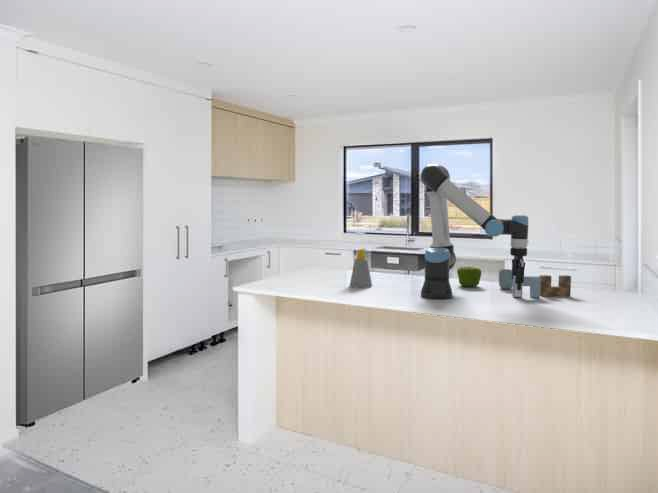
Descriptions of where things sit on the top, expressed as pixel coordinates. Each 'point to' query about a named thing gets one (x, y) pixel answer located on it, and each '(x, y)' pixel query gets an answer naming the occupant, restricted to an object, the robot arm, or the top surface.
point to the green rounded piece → (469, 276)
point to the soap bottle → (361, 272)
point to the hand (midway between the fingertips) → (516, 295)
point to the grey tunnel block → (529, 281)
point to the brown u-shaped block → (558, 291)
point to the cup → (505, 279)
